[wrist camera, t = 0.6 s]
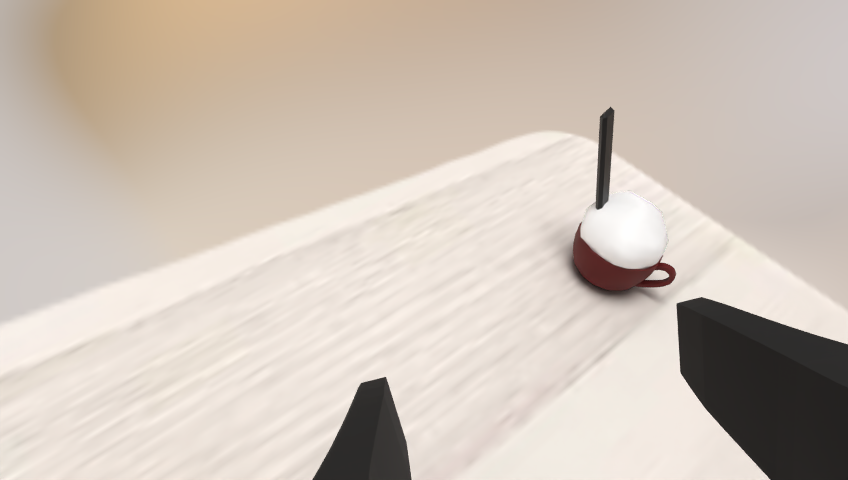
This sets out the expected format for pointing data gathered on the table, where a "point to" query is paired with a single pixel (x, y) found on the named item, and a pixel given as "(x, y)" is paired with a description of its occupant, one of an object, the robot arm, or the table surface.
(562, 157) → the table surface
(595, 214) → the cocoa
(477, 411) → the table surface
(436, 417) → the table surface
